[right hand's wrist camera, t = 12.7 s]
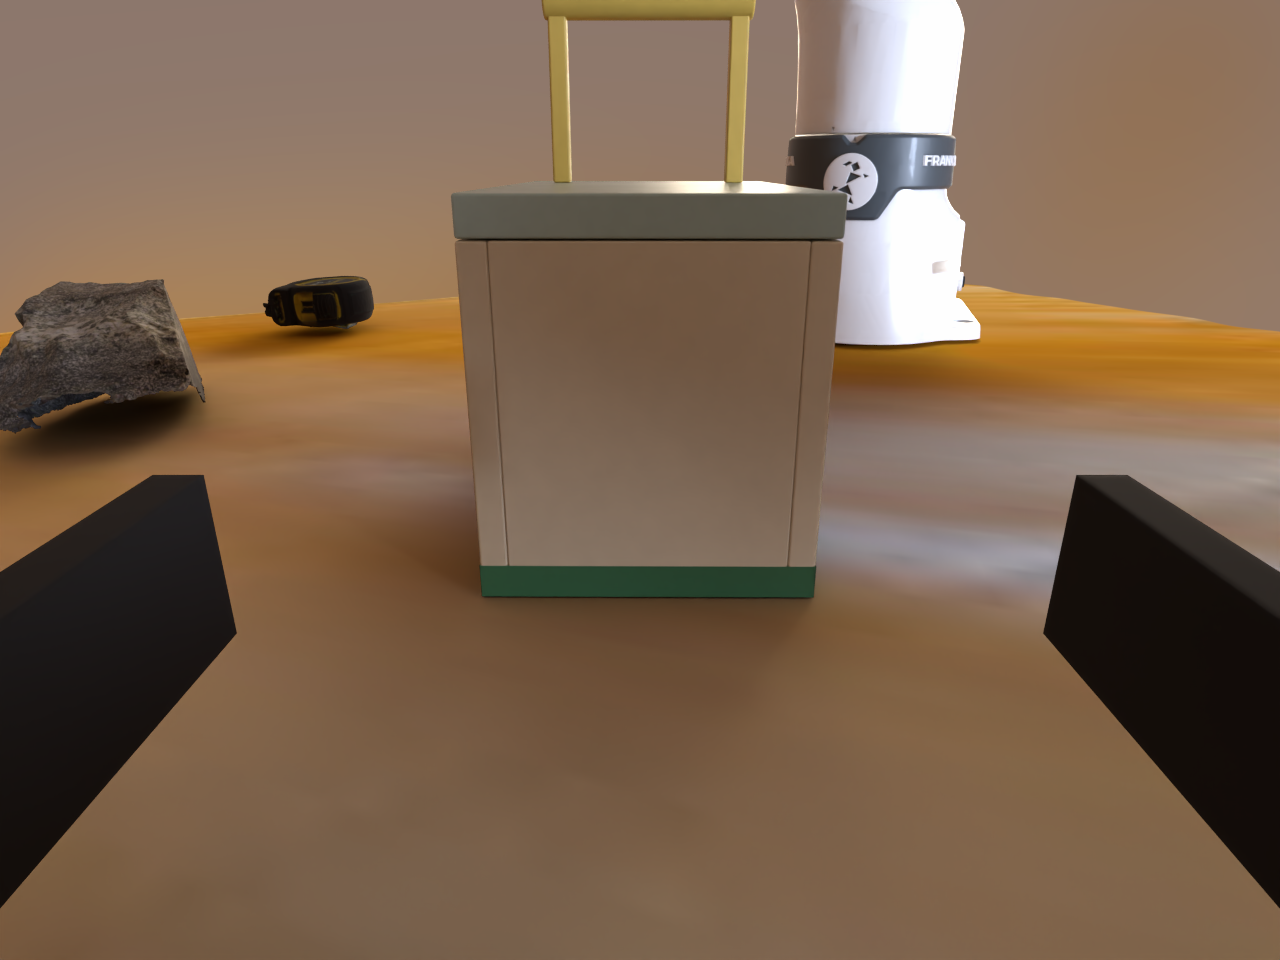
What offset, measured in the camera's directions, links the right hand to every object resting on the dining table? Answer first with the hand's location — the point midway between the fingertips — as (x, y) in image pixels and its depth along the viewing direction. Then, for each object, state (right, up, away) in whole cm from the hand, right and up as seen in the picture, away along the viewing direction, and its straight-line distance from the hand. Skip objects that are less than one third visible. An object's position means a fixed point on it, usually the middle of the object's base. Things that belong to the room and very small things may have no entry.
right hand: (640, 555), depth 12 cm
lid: (0, +10, +16) cm, 19 cm away
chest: (0, +1, +20) cm, 20 cm away
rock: (-27, +4, +29) cm, 40 cm away
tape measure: (-25, +13, +52) cm, 59 cm away
